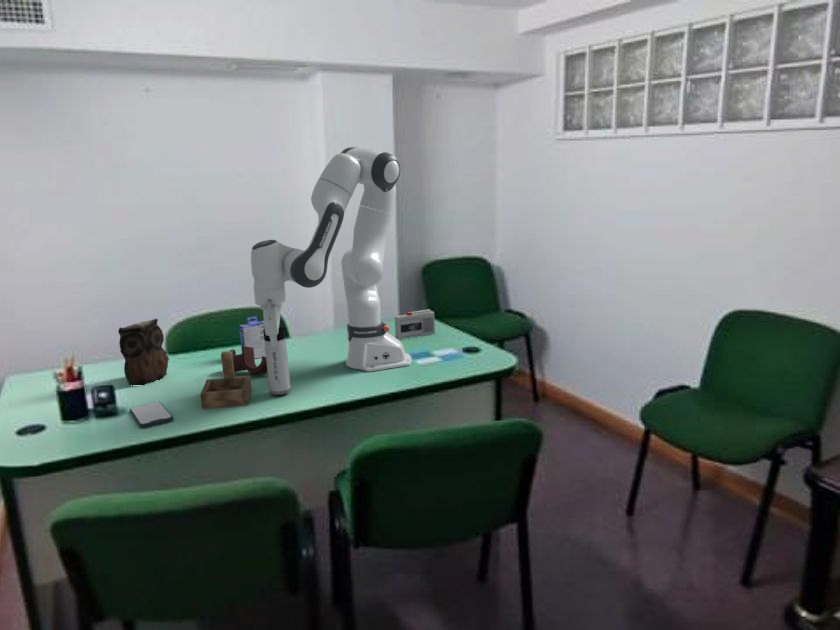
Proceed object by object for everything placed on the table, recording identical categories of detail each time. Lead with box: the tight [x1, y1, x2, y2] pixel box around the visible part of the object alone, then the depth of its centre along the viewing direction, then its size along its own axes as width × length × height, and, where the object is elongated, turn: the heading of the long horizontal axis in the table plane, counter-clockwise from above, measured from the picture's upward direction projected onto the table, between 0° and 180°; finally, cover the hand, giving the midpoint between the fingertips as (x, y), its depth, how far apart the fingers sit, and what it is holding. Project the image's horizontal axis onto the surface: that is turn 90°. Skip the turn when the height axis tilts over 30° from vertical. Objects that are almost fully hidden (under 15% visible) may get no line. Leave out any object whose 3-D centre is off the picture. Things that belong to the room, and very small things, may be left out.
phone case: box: [129, 401, 174, 429], centre depth 179 cm, size 9×2×16 cm
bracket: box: [229, 345, 268, 376], centre depth 211 cm, size 6×17×10 cm, turn 78°
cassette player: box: [394, 308, 436, 340], centre depth 247 cm, size 16×3×10 cm, turn 114°
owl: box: [118, 318, 170, 386], centre depth 205 cm, size 13×13×20 cm
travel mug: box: [263, 326, 291, 396], centre depth 190 cm, size 6×7×20 cm
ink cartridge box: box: [238, 315, 266, 359], centre depth 228 cm, size 10×6×14 cm, turn 124°
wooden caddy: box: [199, 350, 253, 410], centre depth 190 cm, size 13×16×12 cm
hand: (274, 341), depth 188 cm, fingers closed on travel mug, 6 cm apart
